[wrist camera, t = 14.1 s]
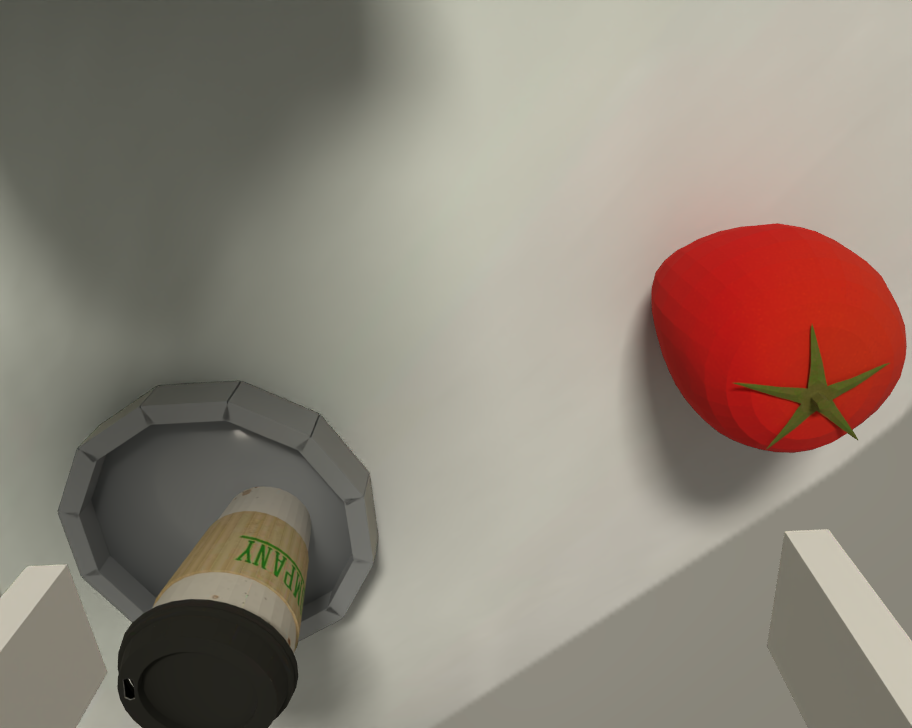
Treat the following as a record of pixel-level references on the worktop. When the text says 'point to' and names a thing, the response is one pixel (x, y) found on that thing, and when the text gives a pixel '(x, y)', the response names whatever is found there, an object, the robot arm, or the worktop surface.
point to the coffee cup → (224, 623)
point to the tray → (213, 492)
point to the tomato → (778, 335)
